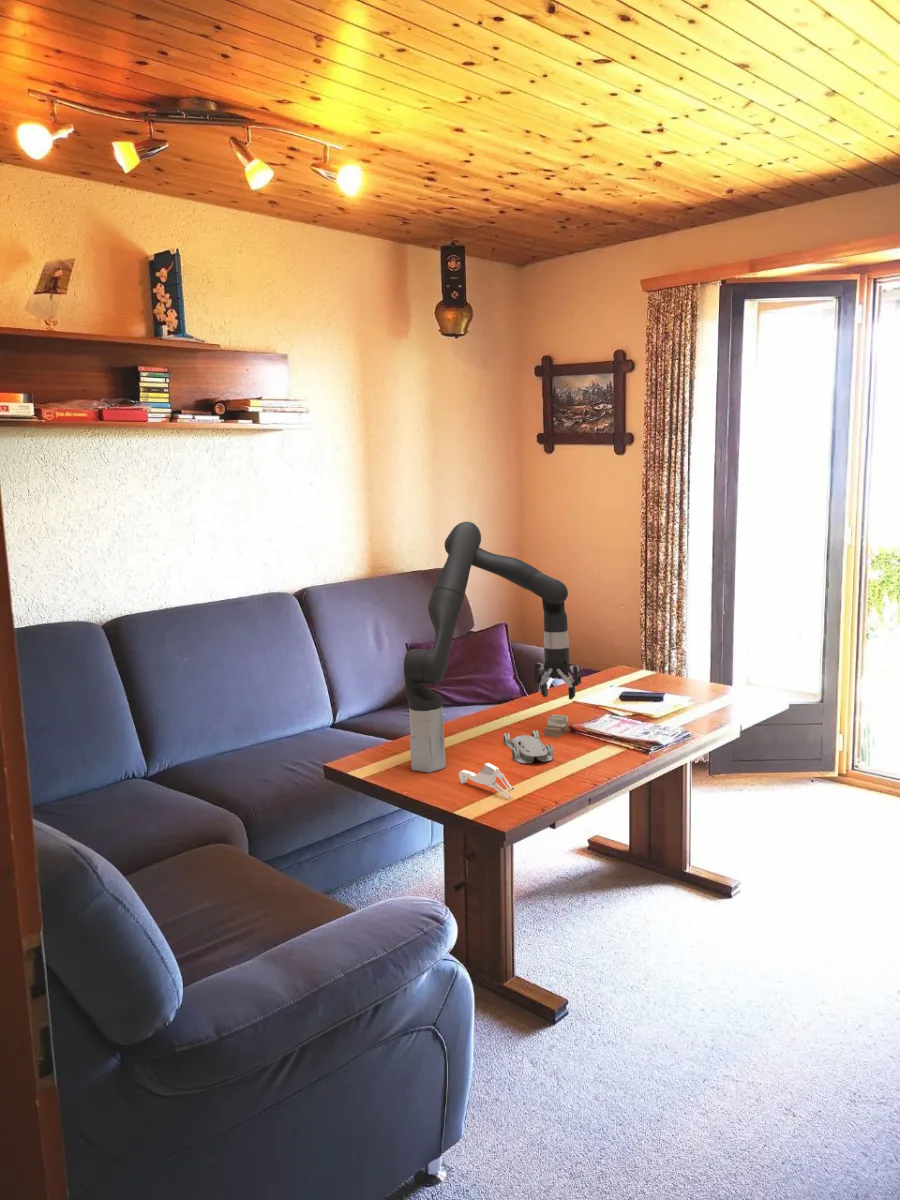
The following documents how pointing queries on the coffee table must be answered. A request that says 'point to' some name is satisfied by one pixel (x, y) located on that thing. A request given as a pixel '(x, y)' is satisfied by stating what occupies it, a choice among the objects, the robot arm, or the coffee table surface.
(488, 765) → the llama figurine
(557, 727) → the chock
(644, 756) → the coffee table surface
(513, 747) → the car model
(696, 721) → the coffee table surface
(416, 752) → the robot arm
